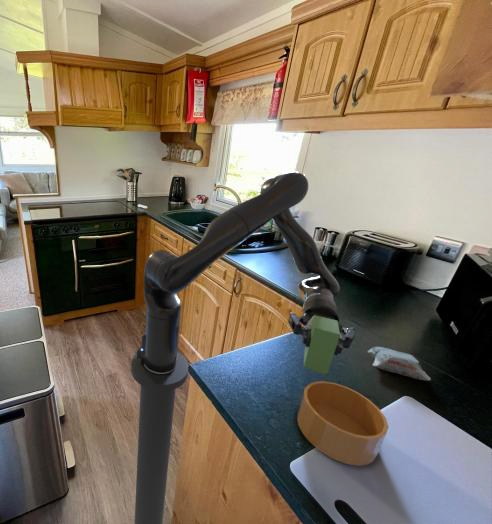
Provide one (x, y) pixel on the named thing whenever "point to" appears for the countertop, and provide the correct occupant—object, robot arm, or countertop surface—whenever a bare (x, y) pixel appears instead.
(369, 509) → the countertop surface
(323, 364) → the green block
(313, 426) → the orange round bowl
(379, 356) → the packaged food
